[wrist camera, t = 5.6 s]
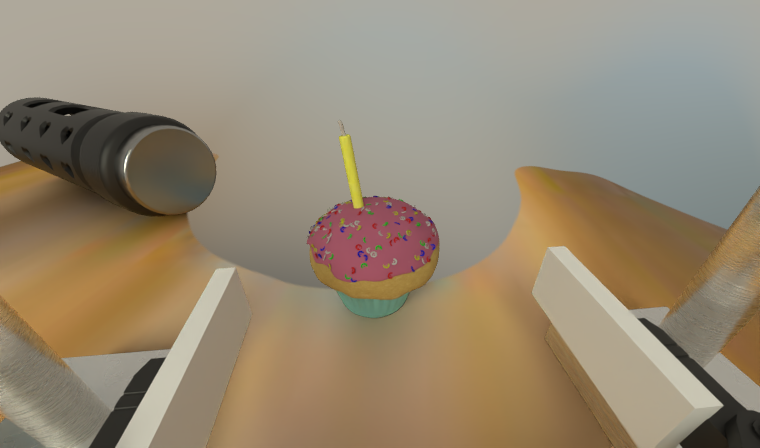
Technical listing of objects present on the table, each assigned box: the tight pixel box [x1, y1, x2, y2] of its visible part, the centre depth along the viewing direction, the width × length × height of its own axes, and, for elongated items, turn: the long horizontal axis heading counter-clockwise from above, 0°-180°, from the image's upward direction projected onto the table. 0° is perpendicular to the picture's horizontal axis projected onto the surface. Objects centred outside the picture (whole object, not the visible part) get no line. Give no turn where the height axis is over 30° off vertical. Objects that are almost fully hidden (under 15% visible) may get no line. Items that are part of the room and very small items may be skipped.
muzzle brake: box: [0, 98, 216, 216], centre depth 34 cm, size 10×28×10 cm, turn 61°
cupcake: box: [307, 121, 439, 318], centre depth 19 cm, size 9×8×12 cm
